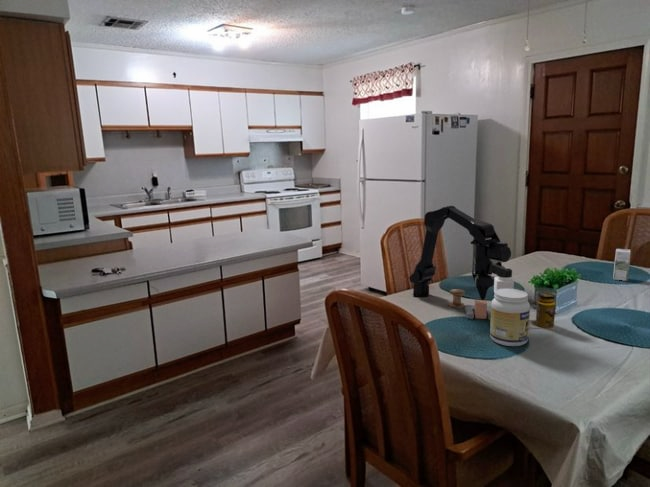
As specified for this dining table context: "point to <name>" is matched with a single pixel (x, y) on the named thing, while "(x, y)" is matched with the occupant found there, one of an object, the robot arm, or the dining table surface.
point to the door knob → (457, 298)
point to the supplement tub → (510, 317)
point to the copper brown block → (480, 309)
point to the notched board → (470, 311)
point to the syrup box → (621, 264)
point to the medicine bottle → (504, 281)
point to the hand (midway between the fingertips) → (481, 296)
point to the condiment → (544, 312)
